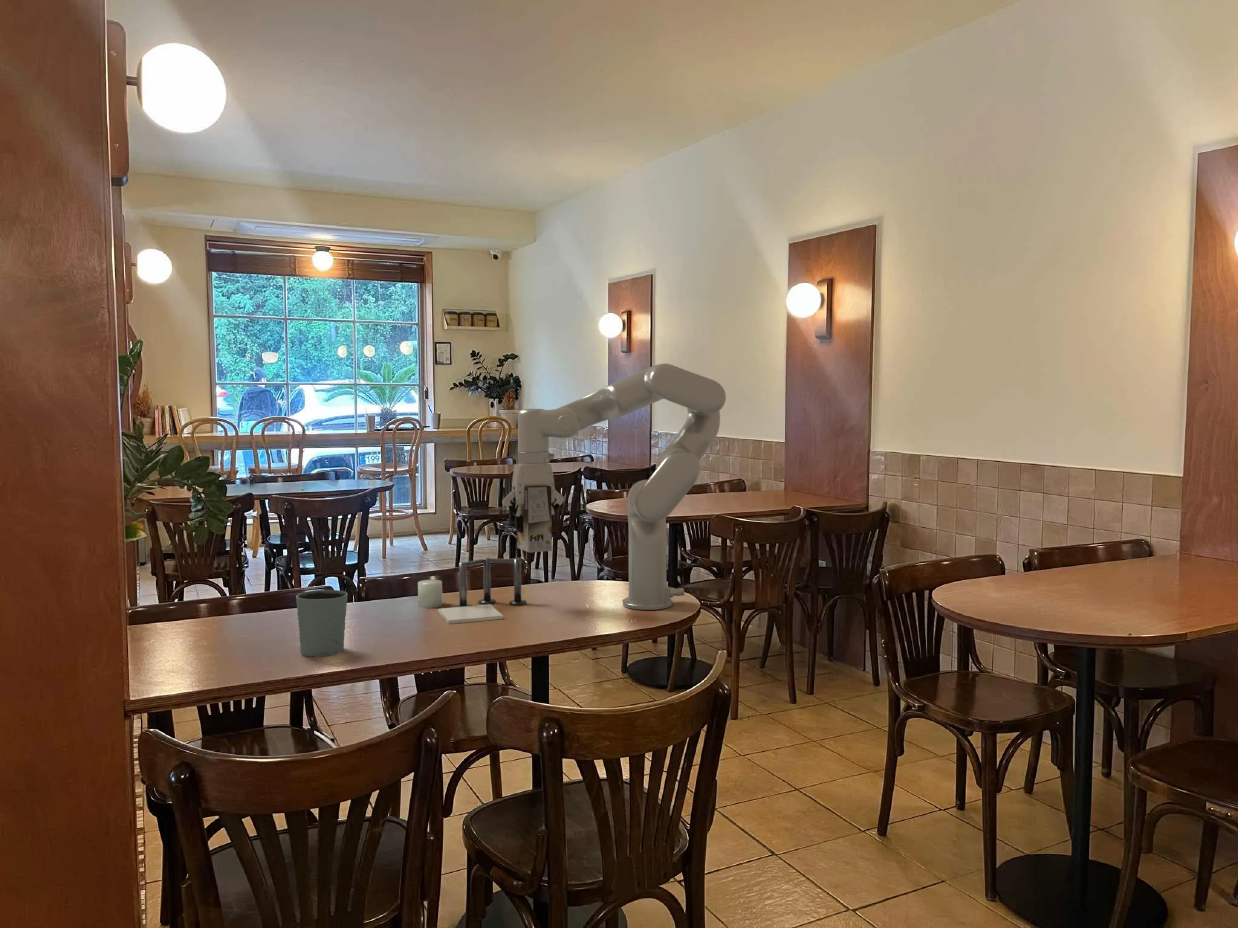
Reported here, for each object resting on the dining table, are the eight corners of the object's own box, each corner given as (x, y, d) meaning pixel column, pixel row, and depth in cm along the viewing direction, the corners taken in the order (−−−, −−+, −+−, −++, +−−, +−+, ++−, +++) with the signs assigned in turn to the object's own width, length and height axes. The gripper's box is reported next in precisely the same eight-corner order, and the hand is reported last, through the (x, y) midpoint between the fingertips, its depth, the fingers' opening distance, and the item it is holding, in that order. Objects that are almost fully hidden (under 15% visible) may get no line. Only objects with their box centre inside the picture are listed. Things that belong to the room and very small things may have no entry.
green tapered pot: (289, 651, 192) (287, 594, 191) (334, 642, 199) (332, 587, 198) (311, 660, 185) (310, 601, 184) (357, 650, 192) (356, 593, 191)
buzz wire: (519, 598, 242) (519, 554, 241) (528, 604, 234) (528, 559, 233) (449, 604, 235) (449, 559, 235) (456, 611, 228) (455, 564, 227)
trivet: (490, 607, 231) (490, 604, 231) (502, 618, 219) (502, 615, 219) (438, 611, 227) (438, 608, 227) (448, 623, 215) (448, 620, 214)
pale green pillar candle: (440, 601, 238) (439, 579, 238) (444, 606, 233) (444, 583, 232) (416, 603, 236) (416, 580, 236) (420, 608, 231) (419, 585, 230)
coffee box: (553, 551, 226) (552, 485, 225) (528, 553, 223) (527, 486, 222) (539, 545, 234) (539, 482, 233) (515, 547, 231) (514, 483, 230)
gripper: (561, 457, 234) (562, 527, 235) (495, 458, 227) (495, 531, 228) (571, 458, 227) (572, 531, 228) (503, 460, 220) (503, 535, 221)
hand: (533, 530), depth 228 cm, fingers closed on coffee box, 6 cm apart
